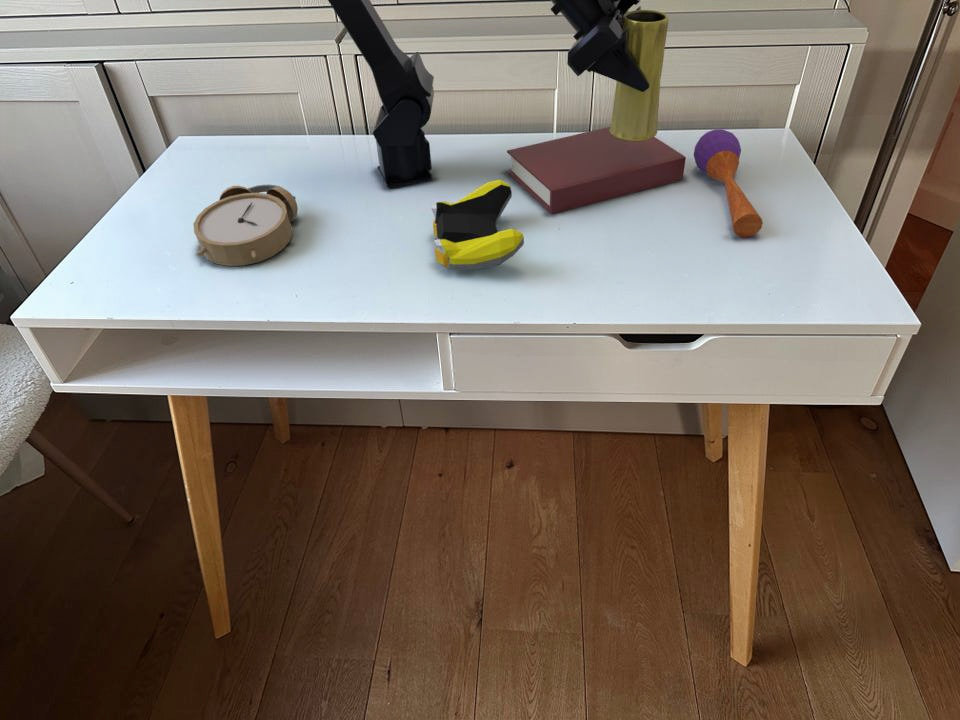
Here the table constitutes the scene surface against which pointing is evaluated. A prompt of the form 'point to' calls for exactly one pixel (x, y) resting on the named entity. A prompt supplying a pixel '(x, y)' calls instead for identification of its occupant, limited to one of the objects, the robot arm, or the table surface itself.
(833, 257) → the table surface
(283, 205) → the alarm clock
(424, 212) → the table surface
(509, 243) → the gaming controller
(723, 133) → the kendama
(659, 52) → the vase
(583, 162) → the book
